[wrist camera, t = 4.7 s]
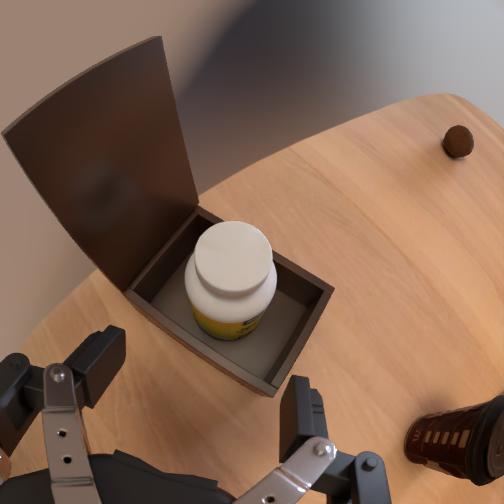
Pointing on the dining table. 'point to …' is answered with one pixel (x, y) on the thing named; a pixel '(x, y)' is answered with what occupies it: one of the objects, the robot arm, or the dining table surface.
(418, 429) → the coffee cup
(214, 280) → the pill bottle
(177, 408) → the dining table surface
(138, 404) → the dining table surface
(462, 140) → the potato
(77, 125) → the lid
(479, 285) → the dining table surface
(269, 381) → the brown wooden box
